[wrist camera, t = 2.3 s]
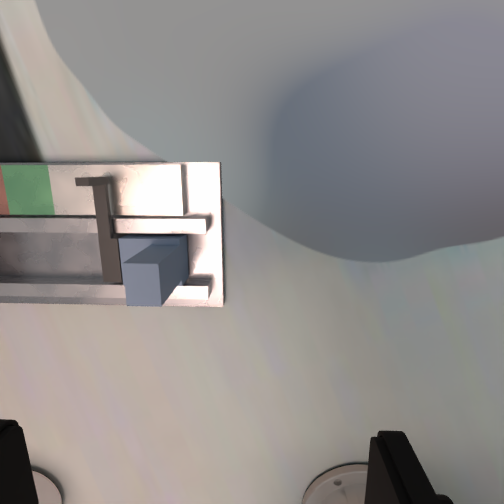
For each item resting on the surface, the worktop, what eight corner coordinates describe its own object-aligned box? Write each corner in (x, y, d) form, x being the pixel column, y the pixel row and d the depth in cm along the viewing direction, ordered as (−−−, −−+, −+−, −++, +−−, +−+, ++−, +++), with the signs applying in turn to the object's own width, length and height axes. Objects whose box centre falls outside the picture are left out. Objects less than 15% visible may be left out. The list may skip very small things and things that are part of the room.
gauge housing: (221, 162, 28) (210, 161, 23) (224, 302, 32) (215, 329, 26) (-56, 163, 30) (-127, 162, 24) (-25, 298, 33) (-82, 323, 27)
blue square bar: (186, 233, 29) (157, 256, 21) (188, 276, 30) (162, 313, 22) (130, 233, 29) (82, 255, 22) (134, 276, 30) (90, 311, 22)
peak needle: (121, 175, 28) (92, 177, 23) (131, 274, 30) (106, 294, 25) (103, 175, 28) (70, 177, 23) (114, 274, 30) (86, 293, 25)
